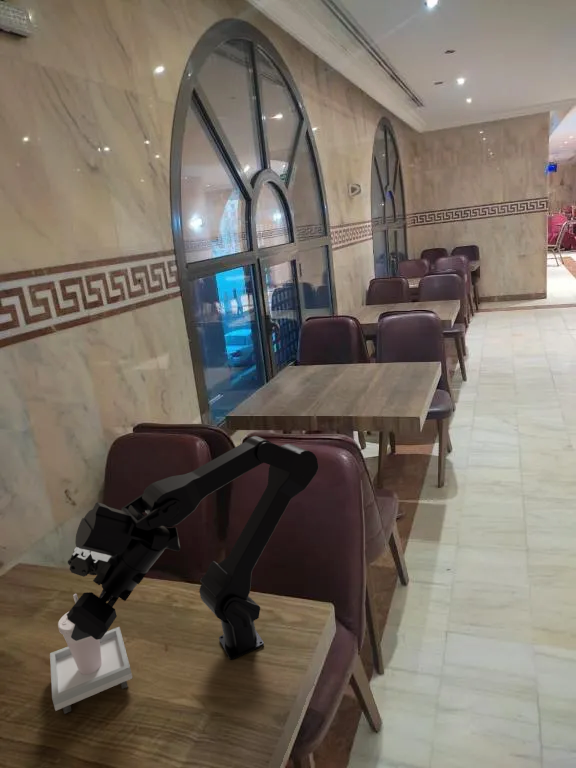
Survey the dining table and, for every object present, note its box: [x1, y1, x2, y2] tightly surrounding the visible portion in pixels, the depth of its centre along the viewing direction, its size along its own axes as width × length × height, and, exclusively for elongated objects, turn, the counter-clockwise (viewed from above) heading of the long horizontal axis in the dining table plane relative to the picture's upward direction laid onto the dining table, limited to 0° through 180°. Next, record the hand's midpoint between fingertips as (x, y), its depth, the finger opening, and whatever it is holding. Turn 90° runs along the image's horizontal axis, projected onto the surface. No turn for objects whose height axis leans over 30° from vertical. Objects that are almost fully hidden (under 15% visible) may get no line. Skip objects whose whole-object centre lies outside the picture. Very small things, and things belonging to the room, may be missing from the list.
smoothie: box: [57, 593, 102, 675], centre depth 90 cm, size 6×6×14 cm
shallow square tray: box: [49, 626, 133, 714], centre depth 92 cm, size 12×12×4 cm
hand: (87, 619), depth 90 cm, fingers open, 9 cm apart
